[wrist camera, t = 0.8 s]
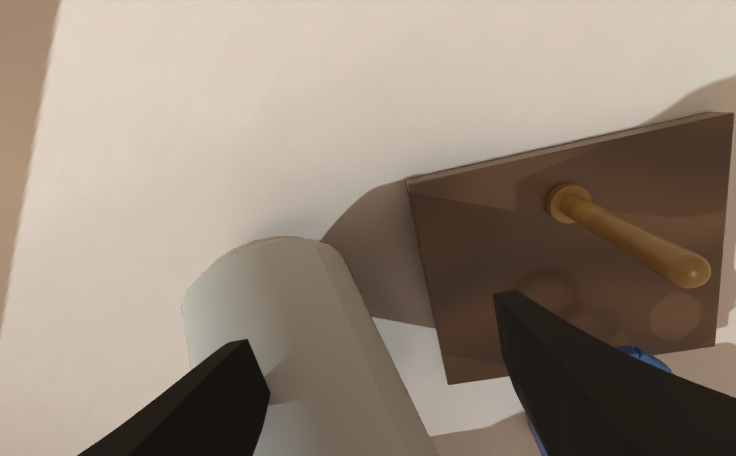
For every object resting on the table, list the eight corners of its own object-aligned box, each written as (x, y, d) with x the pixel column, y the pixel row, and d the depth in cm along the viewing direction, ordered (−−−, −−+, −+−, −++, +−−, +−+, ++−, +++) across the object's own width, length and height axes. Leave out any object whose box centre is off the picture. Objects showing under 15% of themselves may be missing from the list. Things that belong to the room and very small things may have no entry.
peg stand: (697, 332, 20) (921, 500, 12) (445, 370, 22) (480, 540, 13) (711, 111, 16) (1058, 122, 8) (405, 179, 18) (419, 247, 10)
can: (153, 322, 16) (192, 706, 10) (222, 208, 13) (349, 673, 6) (291, 316, 22) (375, 562, 15) (365, 235, 18) (513, 504, 12)
